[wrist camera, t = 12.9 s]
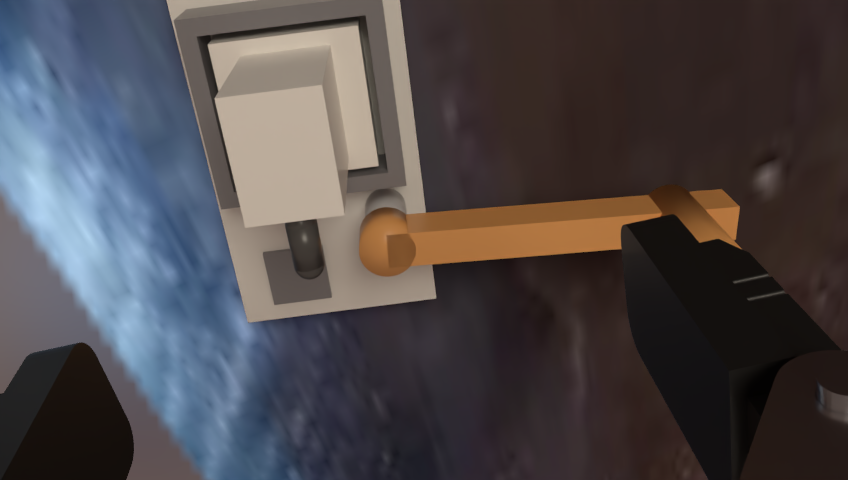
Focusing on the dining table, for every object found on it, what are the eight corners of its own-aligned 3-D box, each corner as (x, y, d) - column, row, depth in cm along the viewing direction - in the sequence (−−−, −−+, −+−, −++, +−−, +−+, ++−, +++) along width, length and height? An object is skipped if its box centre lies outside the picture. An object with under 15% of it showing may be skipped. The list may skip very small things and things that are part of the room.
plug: (385, 194, 31) (388, 283, 25) (258, 210, 31) (230, 303, 25) (358, 14, 28) (355, 62, 21) (217, 31, 28) (174, 85, 21)
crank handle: (362, 257, 29) (360, 364, 23) (357, 209, 29) (353, 307, 22) (716, 229, 30) (805, 326, 24) (722, 180, 29) (816, 268, 23)
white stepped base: (432, 269, 35) (440, 323, 31) (255, 292, 35) (241, 349, 31) (388, -88, 29) (390, -78, 25) (170, -61, 29) (137, -46, 25)
